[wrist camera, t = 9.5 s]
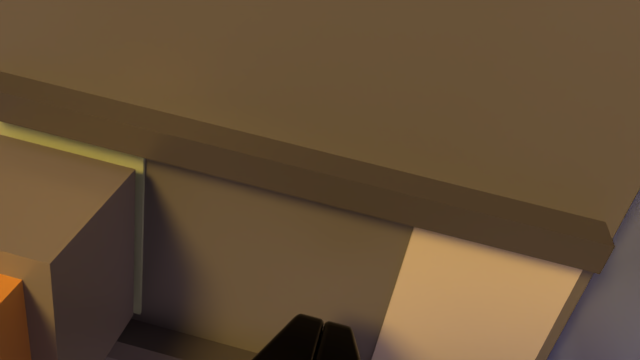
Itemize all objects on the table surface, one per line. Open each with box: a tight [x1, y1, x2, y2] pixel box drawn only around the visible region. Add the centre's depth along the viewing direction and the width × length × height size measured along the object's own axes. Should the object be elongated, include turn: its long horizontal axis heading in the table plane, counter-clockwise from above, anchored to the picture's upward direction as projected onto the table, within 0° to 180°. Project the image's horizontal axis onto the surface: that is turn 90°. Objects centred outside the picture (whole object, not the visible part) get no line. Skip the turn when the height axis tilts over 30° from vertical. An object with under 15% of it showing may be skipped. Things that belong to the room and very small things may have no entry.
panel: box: [0, 0, 640, 360], centre depth 11 cm, size 20×10×2 cm, turn 170°
